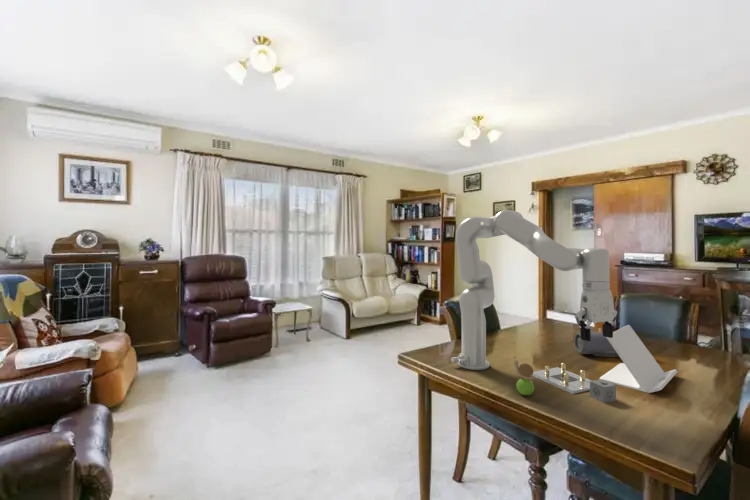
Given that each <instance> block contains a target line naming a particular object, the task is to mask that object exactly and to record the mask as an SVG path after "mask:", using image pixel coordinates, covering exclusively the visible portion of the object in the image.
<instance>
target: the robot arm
mask: <svg viewBox="0 0 750 500" xmlns="http://www.w3.org/2000/svg"><path fill="white" fill-rule="evenodd" d="M505 235H506V236H507V237H509V238H510V239H512V240H513V241H515V242H517V243H519V244H520V245H522V247H525V248H526V249H527V250H528V251H529V252H531V253H532V254H533V255H535V256H536V257H538V258H539V259H540V260H542V261H543V262H545V263H546V264H548V265H549V266H551V267H552V268H555V269H557V270H558V271H562V272H569V271H573V270H580V269H581V270H582V271H581V272H582V284H581V286H582V290H581V293H580V294H581V296H580V307H579V311H578V312H577V313H576V314H574V318H575V321H576V323H577V325H578V327H579V328H580V331H579V333H580V335H581V339H582V340H586V341H590V340H591V333H592V332H591V328H590V326H591V324H592V323H594V324H597V323H602V333H603V336H605V337H609V338H613V332H614V329H613V328H614V325H615V321H616V319H617V315H618V311H617V310H616V309H615V304H614V297H613V292H612V290H610V289H611V286H610V285H611V284H610V281H611V280H610V277H611V276H610V251H609V250H608V249H607V248H601V247H600V248H599V247H597V248H595V247H594V248H577V247H565V246H564V245H562V244H560V243H558V242H557V241H555V240H554V239H552V238H551V237H549V236H548V235H547V234H546V233H545V232H544V229H542V228H541V227H540V226H539V225H537V224H535V223H534V222H532V221H529V220H528V219H526V218H525V217H524V216H523V215H522V214H521V213H520V212H518V211H515V210H509V209H502V210H501V211H499V212H497V213H496V214H495V215H493V216H489V217H485V216H484V217H483V216H470V217H468V218H466V219H464V220H463V221H462V222H461V223H460V224H459V225H458V227H457V229H456V231H455V244H456V250H457V259H458V261H457V262H458V269H459V271H458V272H459V276H460V280H461V281H462V282H463V283H465V284H467V285H471V286H470V287H469V288H465V289H464V290H463V291H462V292H461V293H460V295H459V300H458V301H459V309H460V314H461V315H460V317H461V325H460V326H461V352H460V353H459V354H458V356H454V357H451V358H450V360H451V363H457V365H458V366H459V367H461V368H463V369H466V370H470V371H482V370H483V371H484V370H487V369H489V368H490V367H491V363H490V362H489V360H487V357H486V355H487V354H486V353H487V349H486V348H487V344H486V343H487V340H486V339H487V321H486V315H485V312H484V311H485V309H486V308H489V307H490V306H491V305H493V303H494V302H495V288H494V277H493V272H492V268H491V266H490V264H489V263H488V262H487V261H485V260H483V259H481V258H480V250H479V245H478V244H477V239H490V238H496V237H499V236H505Z"/></svg>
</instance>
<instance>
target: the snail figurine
mask: <svg viewBox="0 0 750 500" xmlns="http://www.w3.org/2000/svg"><path fill="white" fill-rule="evenodd" d="M516 358H517V356H516V355H514V356H513V364H514V369H515V372H516V374H517V376H519V377H520V378H519V379H517V381H516V384H515V386H516V389H517V392H518V393H519V394H521V395H522V396H530V395H532V394H533V393H534V392H535V385H534V382H533V381H532V380H533V379H534V376H532V375H533V372H534V368H533V367H532V366H531V365H530V364H529V363H525V362H524V363H521V364H520V365H519V361H518V360H517V359H516Z"/></svg>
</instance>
